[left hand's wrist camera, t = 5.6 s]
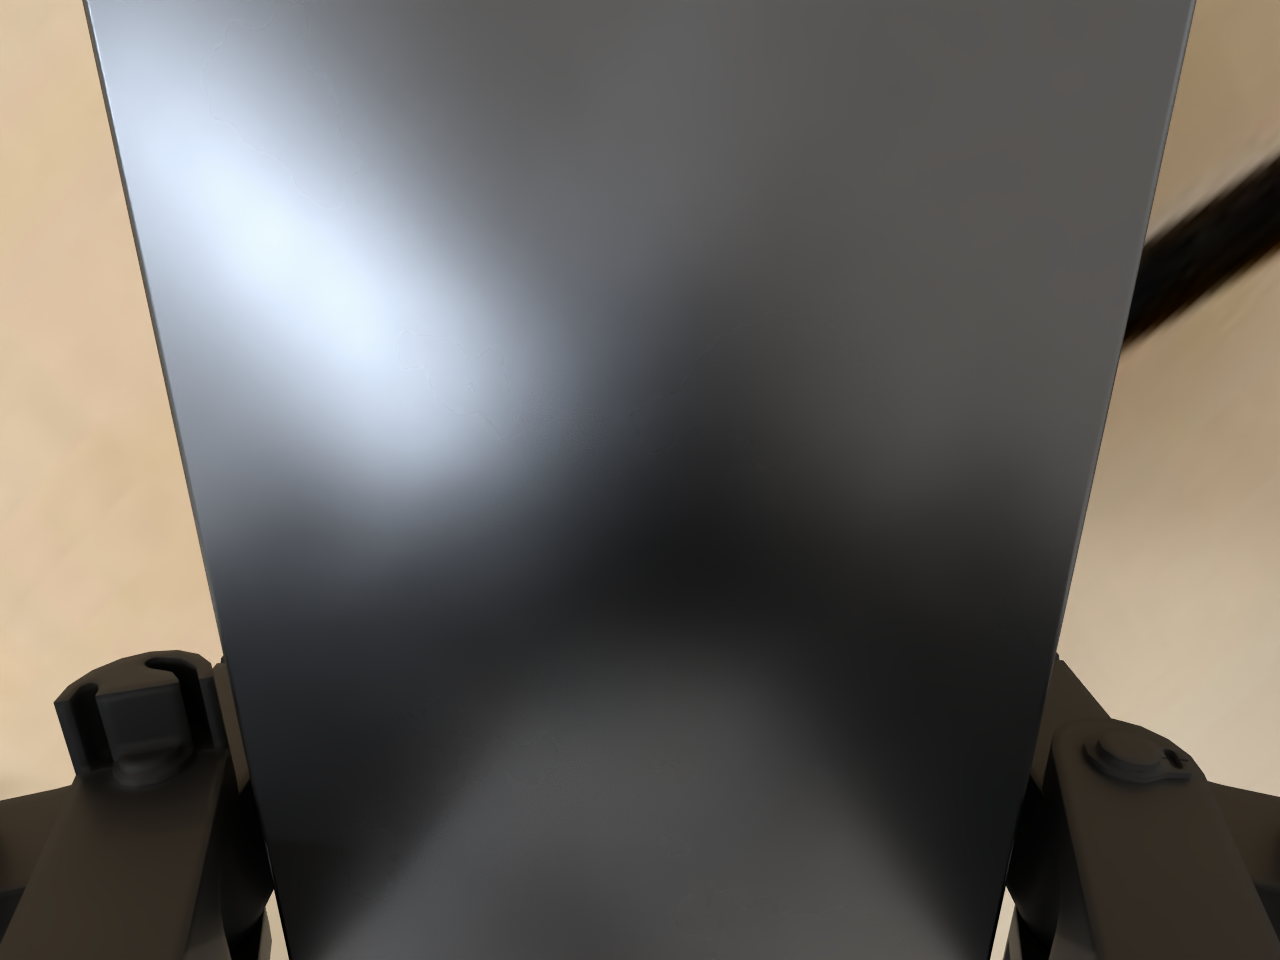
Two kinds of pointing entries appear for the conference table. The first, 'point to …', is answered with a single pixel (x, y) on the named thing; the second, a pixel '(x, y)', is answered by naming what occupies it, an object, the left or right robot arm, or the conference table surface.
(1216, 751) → the conference table surface
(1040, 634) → the bar
